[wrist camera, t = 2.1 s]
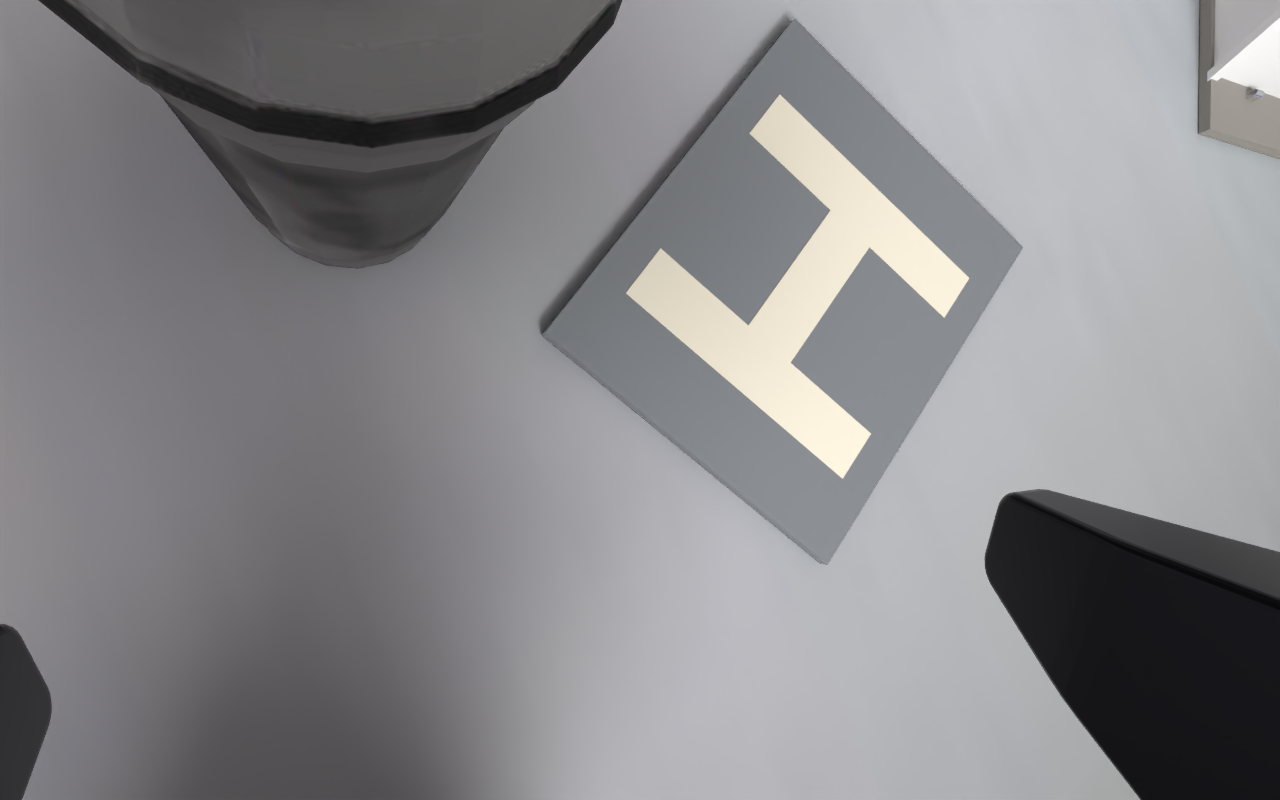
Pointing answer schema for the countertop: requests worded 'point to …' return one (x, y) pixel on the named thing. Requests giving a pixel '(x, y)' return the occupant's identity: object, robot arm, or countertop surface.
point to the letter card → (791, 293)
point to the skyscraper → (1240, 73)
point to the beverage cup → (345, 99)
